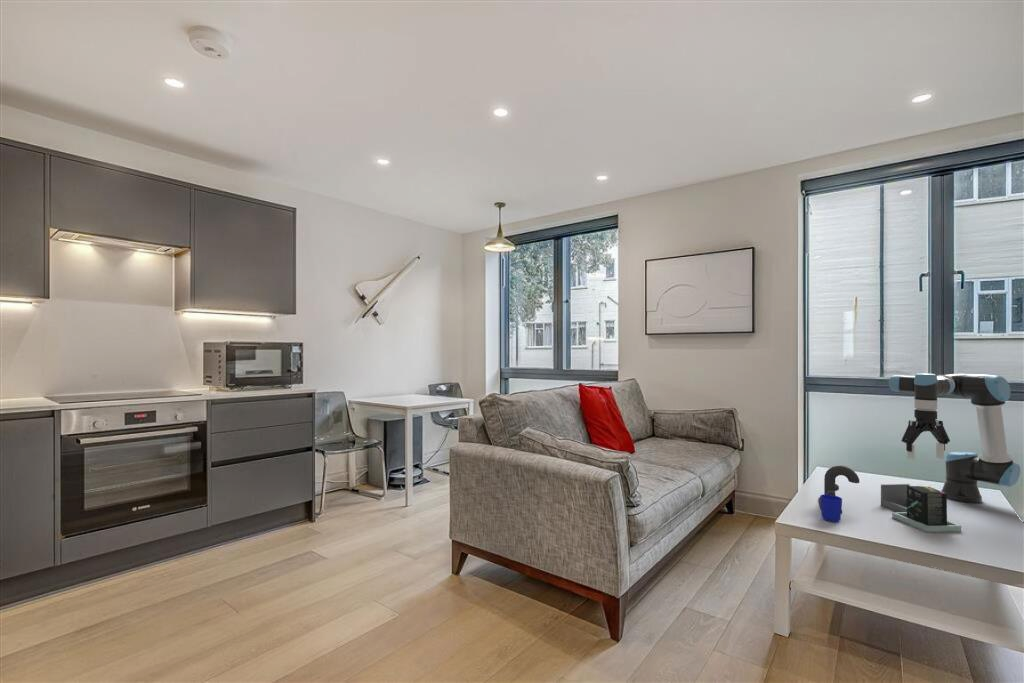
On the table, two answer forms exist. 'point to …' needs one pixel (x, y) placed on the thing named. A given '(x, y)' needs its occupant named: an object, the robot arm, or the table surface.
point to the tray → (929, 529)
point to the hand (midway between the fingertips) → (925, 458)
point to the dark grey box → (927, 505)
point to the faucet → (832, 474)
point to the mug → (831, 507)
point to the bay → (894, 496)
